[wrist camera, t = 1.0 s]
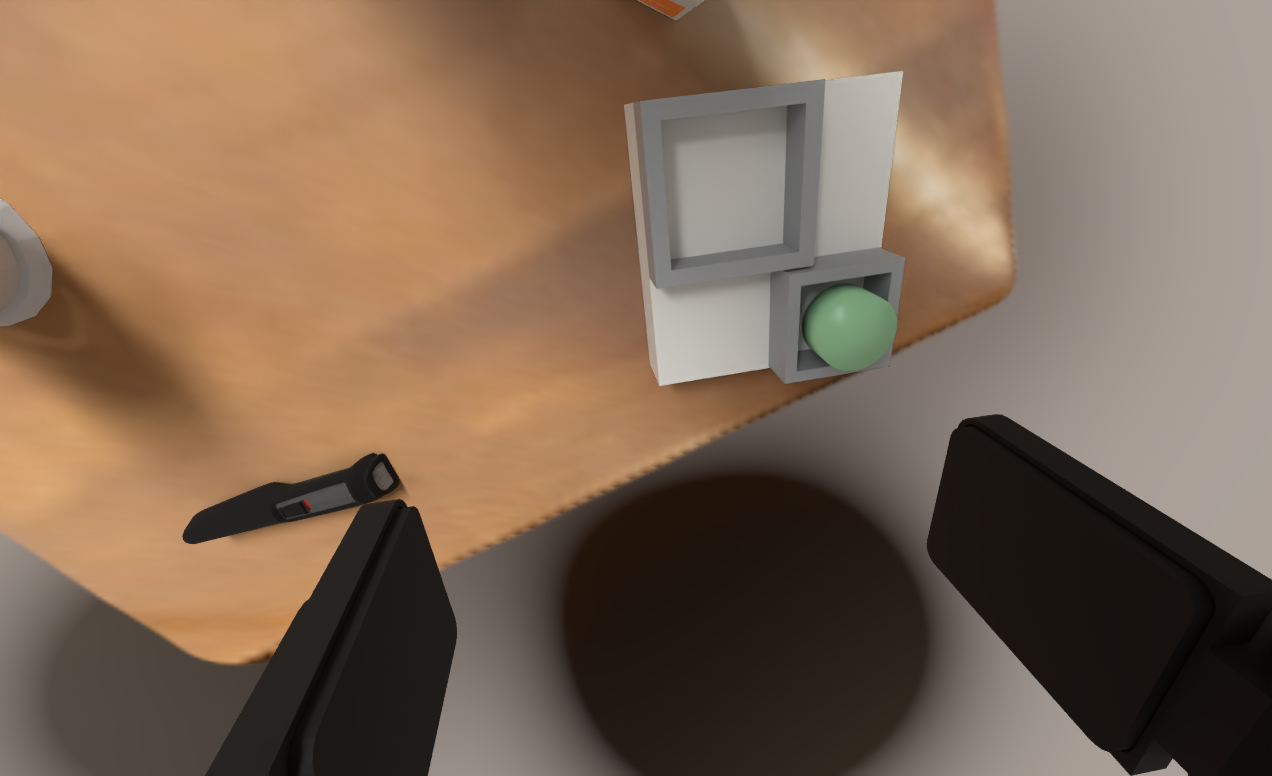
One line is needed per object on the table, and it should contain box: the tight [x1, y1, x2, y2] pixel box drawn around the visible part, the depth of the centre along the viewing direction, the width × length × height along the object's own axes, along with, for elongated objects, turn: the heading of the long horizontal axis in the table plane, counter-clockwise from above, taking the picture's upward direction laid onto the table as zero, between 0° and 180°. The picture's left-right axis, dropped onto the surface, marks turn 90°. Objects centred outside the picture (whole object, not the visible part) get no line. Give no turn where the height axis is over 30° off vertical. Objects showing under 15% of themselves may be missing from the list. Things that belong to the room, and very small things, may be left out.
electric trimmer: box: [183, 453, 399, 544], centre depth 40 cm, size 4×16×3 cm, turn 103°
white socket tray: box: [624, 71, 906, 386], centre depth 34 cm, size 18×16×7 cm
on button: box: [802, 283, 897, 371], centre depth 33 cm, size 5×5×3 cm
